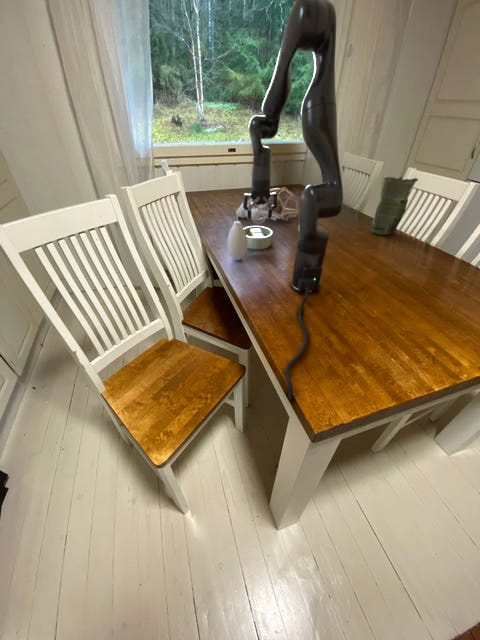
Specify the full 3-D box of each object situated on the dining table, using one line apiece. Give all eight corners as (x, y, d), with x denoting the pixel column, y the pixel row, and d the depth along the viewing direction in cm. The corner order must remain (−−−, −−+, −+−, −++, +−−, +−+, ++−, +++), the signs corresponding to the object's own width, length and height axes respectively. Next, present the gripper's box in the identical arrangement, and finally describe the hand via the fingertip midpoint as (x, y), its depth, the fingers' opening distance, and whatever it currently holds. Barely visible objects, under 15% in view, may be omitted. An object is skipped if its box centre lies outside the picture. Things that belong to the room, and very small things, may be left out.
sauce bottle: (230, 264, 108) (229, 219, 97) (226, 256, 114) (224, 212, 103) (249, 262, 110) (250, 217, 99) (243, 254, 116) (244, 210, 104)
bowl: (274, 249, 120) (275, 237, 116) (243, 250, 118) (243, 238, 115) (267, 236, 130) (268, 225, 127) (239, 238, 129) (239, 226, 125)
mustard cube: (261, 241, 125) (261, 232, 122) (251, 242, 124) (251, 232, 121) (259, 237, 128) (259, 228, 125) (249, 238, 128) (249, 228, 125)
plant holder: (304, 227, 145) (311, 195, 134) (240, 228, 139) (241, 195, 129) (289, 209, 165) (294, 180, 155) (232, 209, 160) (233, 179, 150)
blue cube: (263, 246, 121) (264, 236, 118) (253, 247, 120) (253, 237, 117) (261, 242, 124) (261, 232, 121) (251, 243, 123) (251, 233, 121)
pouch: (364, 230, 137) (381, 175, 122) (381, 226, 142) (399, 172, 126) (382, 238, 130) (403, 180, 114) (399, 233, 134) (421, 177, 118)
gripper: (245, 180, 105) (244, 222, 115) (281, 179, 107) (277, 220, 117) (242, 176, 111) (242, 216, 121) (276, 175, 113) (273, 215, 123)
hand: (259, 218), depth 119 cm, fingers open, 8 cm apart
